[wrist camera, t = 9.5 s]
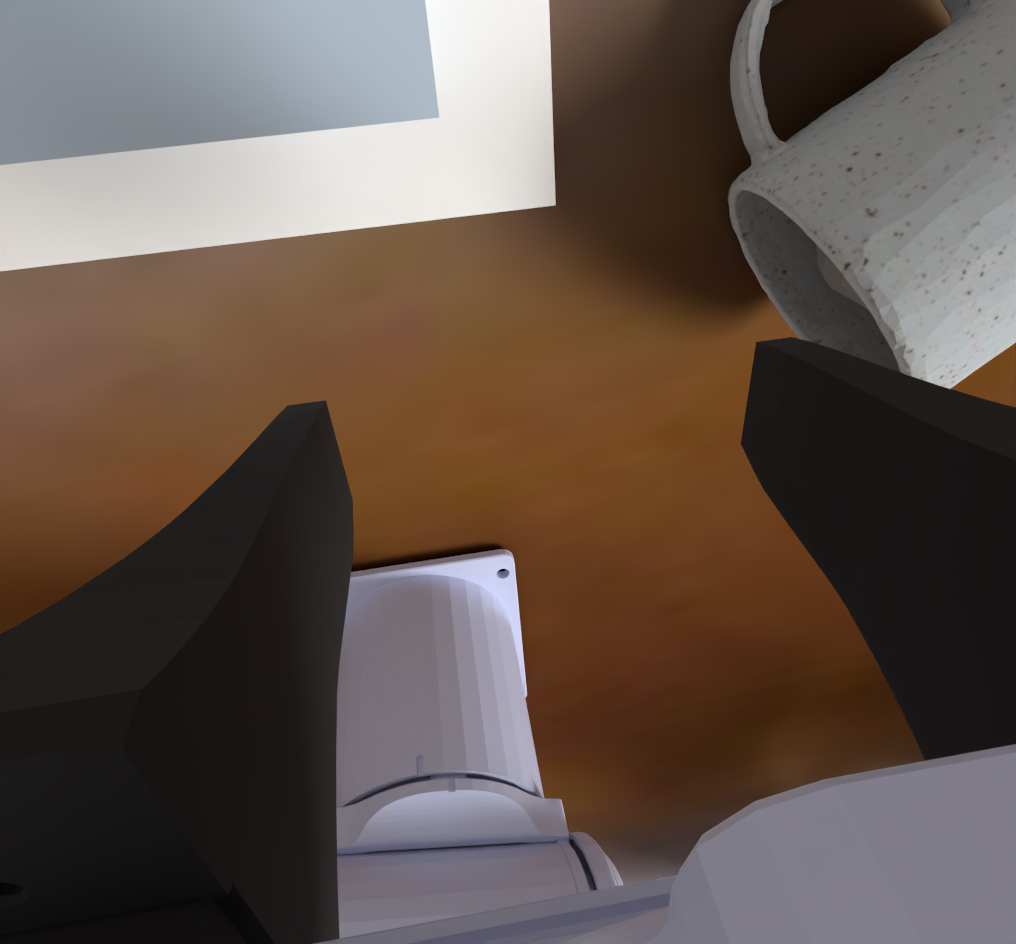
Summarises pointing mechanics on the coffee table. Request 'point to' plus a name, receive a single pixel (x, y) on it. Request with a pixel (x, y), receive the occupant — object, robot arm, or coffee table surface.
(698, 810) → the coffee table surface
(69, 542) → the coffee table surface
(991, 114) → the ceramic mug
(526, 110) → the plinth base
